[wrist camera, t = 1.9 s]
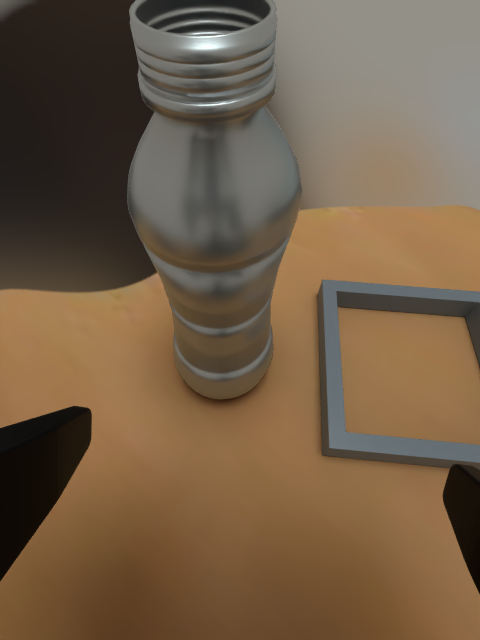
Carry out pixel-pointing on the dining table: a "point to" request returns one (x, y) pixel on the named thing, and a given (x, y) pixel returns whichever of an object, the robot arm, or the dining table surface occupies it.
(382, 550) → the dining table surface
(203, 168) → the plastic bottle
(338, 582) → the dining table surface
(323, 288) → the frame
